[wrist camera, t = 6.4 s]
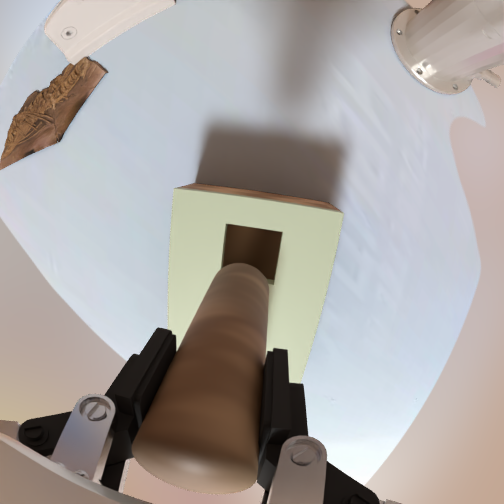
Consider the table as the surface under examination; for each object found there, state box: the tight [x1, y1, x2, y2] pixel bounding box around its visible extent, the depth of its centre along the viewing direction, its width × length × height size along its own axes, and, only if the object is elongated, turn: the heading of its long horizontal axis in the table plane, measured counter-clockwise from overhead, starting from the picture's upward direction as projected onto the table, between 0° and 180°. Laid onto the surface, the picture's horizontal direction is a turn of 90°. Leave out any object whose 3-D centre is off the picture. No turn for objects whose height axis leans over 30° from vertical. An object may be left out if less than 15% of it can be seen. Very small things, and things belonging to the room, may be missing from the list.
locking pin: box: [131, 263, 269, 494], centre depth 12 cm, size 4×4×12 cm
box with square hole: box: [179, 183, 340, 280], centre depth 32 cm, size 15×22×6 cm
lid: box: [168, 187, 344, 383], centre depth 26 cm, size 15×22×6 cm
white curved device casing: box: [44, 0, 176, 65], centre depth 21 cm, size 17×5×10 cm, turn 112°
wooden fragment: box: [0, 57, 108, 170], centre depth 30 cm, size 26×11×1 cm, turn 110°
